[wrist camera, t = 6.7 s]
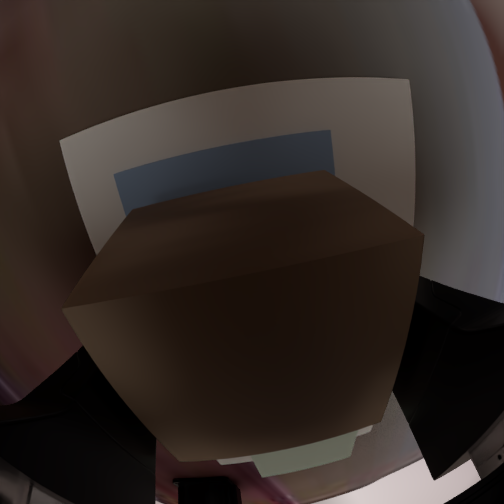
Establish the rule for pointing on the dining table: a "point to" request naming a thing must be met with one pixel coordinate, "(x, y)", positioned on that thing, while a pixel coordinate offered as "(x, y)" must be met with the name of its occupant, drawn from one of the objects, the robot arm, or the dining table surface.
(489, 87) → the dining table surface
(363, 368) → the walnut block
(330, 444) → the sage block
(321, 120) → the build board
